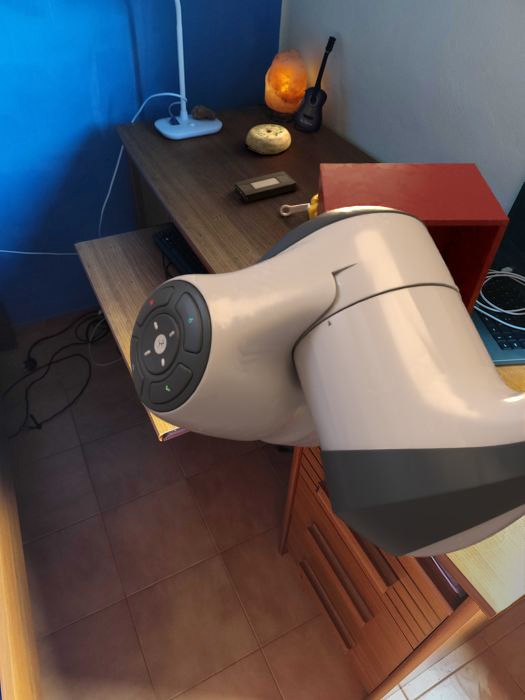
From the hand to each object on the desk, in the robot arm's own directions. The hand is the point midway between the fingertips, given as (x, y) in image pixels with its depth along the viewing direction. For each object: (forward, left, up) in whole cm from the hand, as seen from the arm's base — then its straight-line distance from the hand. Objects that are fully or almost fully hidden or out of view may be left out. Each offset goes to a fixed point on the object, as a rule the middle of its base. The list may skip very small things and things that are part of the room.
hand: (359, 409), depth 48 cm
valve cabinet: (-11, -40, -20) cm, 46 cm away
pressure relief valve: (+3, -71, -21) cm, 74 cm away
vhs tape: (+13, -86, -21) cm, 89 cm away
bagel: (+13, -113, -21) cm, 116 cm away
